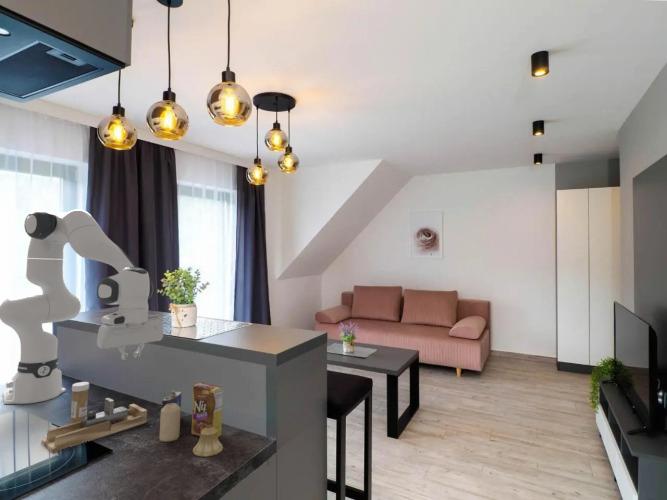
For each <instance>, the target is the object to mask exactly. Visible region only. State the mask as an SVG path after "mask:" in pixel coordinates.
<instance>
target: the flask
mask: <svg viewBox="0 0 667 500" xmlns="http://www.w3.org/2000/svg"><path fill="white" fill-rule="evenodd" d="M171 403H176V404H177V405H178V406H179V407H180V408H181V410H180V419H181V414H182V412H181V411H182V391H177V390H173V389H172V390H171V393H170V395H169V396H165V397H164V398H163V399H162V400H161V409H162V408H163V407H164V406H165V405H166V404H171Z"/></svg>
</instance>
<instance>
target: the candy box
mask: <svg viewBox="0 0 667 500" xmlns="http://www.w3.org/2000/svg"><path fill="white" fill-rule="evenodd" d="M209 393H214V397H215V410H214V413H213V424H212V427H213V428H215V429H216V430H217V437H218V438H220V437H221V436H222V424H223V423H222V420H223V400H224V386H220V385H215V384H210V383H206V382H204V381H202V382H199V383H197V384H194V385H193V388H192V406H191V407H192V408H191V409H192V412H191V434H192V435H194V436H198V437H200V434H201V431H202V430H203V429H205V428H206V423H207V411H206V402H207V399H208V396H209Z"/></svg>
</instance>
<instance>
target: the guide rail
mask: <svg viewBox="0 0 667 500" xmlns="http://www.w3.org/2000/svg"><path fill="white" fill-rule="evenodd" d="M127 409H128V420H125V421H122V422H119V423H115V424H112V425H110V421H106V422H102V423H99V424H96V425H92V426H89V427H85V428H82V429H80V428H81V421H79V422H75V423H72V424H71V423H68V424H66V425H63V426H62V425H61V426H59V427H55V428H51V429H47V430H46V431H47V432H46V437H45V438H42V439H41V440H40V443H41V444H42V445H43V446H44V447H45V448H46V449H48V451H50V452H51V454H54V453H57V452H60V451H63V450H62V449H64V450H66V449H65V448H67V447H70V448H73V447H75V446H79V445H82V444H85V443H88V442H90V441H94V440H97V439H101V438H103V437H106V436H110V435H112V434H116V433H120V432H122V431H125V430H129V429H131V428H134V427H137V426H141V425H144V424H145V423H148V422H147V418H148V417H147V416H148V410H147V409H146V408H143V407H141V406H139V405H137V404H135V403H131V404H129V405H128V408H127ZM87 441H88V442H87ZM84 442H85V443H84ZM81 443H82V444H81ZM72 446H73V447H72ZM67 449H68V448H67Z"/></svg>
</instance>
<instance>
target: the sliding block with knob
mask: <svg viewBox="0 0 667 500" xmlns="http://www.w3.org/2000/svg"><path fill="white" fill-rule="evenodd" d="M114 407H115V400H114V399H112V398H110V397H106V398H105V399H104V406H103V410H104V411H101V412H97V411H96V410H89V411H87V416H85V417H82V418H81V428H80V429H82V428H85V427H89V426H92V425H96V424H99V423H102V422H106V421H110V425H112V424H115V423H119V422H122V421H125V420H128V409H129V408H126V407H125V406H123V405H122V406H119V407H116V408H114Z"/></svg>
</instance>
